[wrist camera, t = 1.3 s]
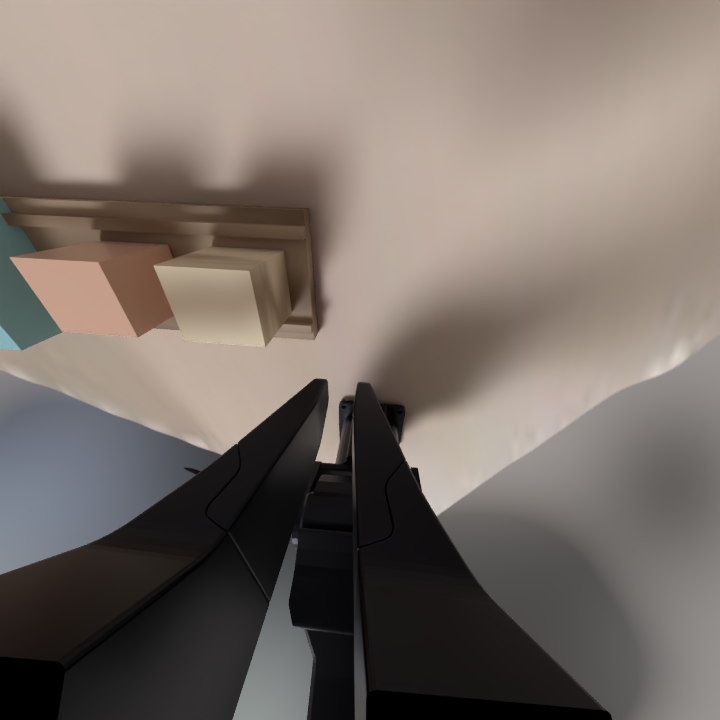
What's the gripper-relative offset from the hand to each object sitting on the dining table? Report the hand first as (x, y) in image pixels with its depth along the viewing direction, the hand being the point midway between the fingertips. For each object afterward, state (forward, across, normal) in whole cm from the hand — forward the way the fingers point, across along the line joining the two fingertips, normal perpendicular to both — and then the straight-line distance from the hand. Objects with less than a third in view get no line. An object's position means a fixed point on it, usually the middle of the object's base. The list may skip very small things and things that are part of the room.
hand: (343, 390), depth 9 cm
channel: (+12, +15, 0) cm, 19 cm away
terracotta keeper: (+11, +16, 0) cm, 19 cm away
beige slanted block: (+11, +8, 0) cm, 13 cm away
